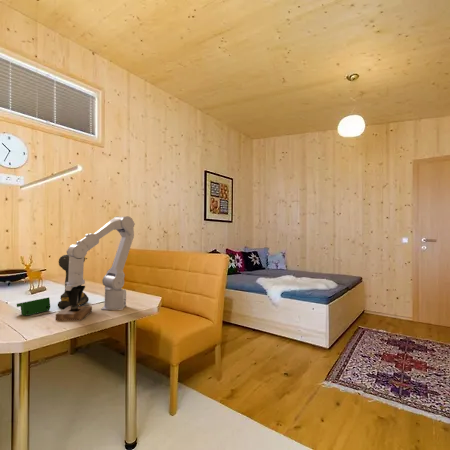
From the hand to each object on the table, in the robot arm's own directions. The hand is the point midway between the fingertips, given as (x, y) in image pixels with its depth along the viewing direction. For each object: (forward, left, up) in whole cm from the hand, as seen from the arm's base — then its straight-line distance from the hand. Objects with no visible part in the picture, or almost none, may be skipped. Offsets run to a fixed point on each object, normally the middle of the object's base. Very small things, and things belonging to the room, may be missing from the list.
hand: (74, 303), depth 126 cm
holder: (0, 0, -5) cm, 5 cm away
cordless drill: (+7, -19, -5) cm, 21 cm away
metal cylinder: (0, 0, -3) cm, 3 cm away
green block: (+20, -5, -6) cm, 21 cm away
